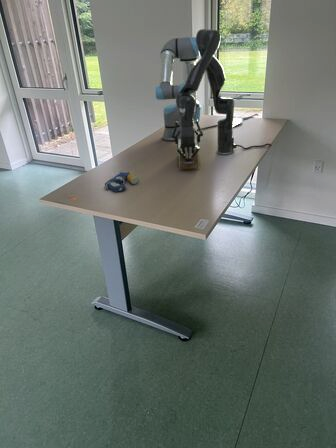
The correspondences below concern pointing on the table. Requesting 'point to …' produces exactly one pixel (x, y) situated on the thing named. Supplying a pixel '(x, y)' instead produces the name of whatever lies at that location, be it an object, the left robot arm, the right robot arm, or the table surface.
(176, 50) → the left robot arm
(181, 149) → the cabinet
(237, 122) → the spoon
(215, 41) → the right robot arm
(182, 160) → the drawer
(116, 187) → the spray gun
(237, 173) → the table surface
